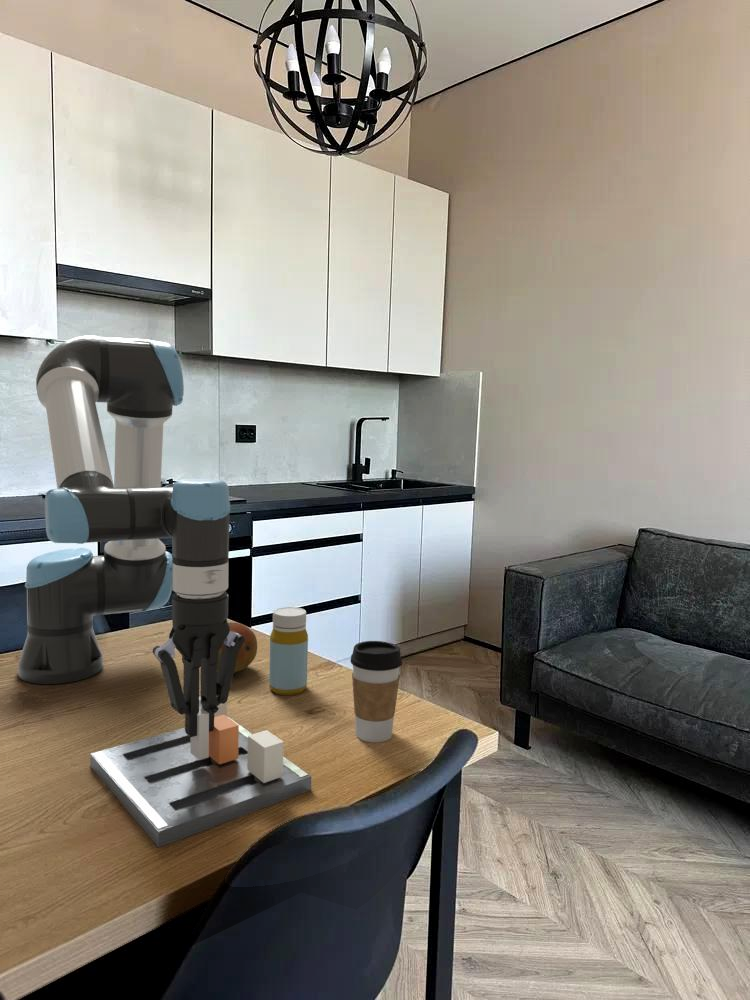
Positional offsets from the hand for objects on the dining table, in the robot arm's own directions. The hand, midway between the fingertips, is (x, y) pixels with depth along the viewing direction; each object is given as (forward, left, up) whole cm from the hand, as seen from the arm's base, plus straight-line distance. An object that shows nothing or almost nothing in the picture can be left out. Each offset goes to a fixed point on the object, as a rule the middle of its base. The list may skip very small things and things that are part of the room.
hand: (199, 754), depth 100 cm
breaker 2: (+8, +6, -2) cm, 10 cm away
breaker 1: (-8, +6, -2) cm, 10 cm away
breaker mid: (0, +3, -2) cm, 4 cm away
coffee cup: (+4, +29, -4) cm, 29 cm away
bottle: (-20, +28, -4) cm, 34 cm away
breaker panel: (0, 0, -3) cm, 3 cm away
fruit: (-35, +23, -4) cm, 42 cm away
